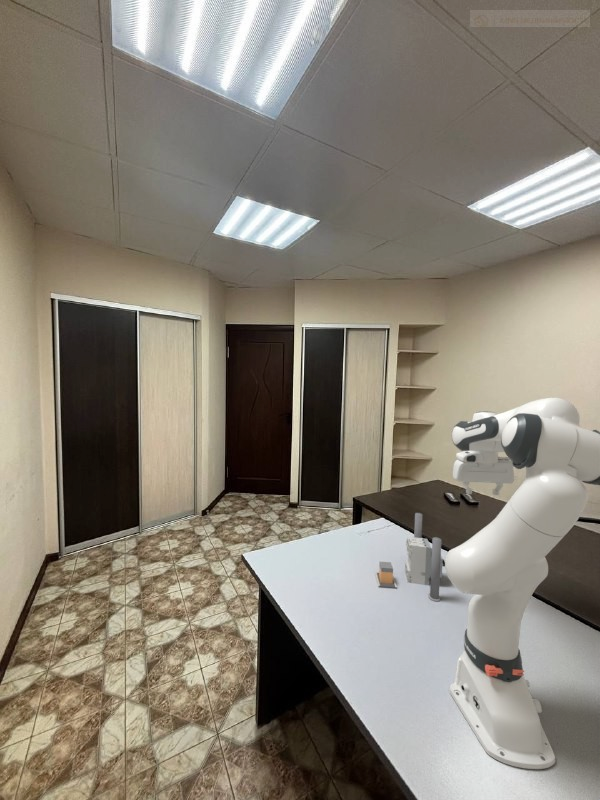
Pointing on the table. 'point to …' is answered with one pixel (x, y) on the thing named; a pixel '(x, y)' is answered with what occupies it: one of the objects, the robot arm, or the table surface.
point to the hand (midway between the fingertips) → (482, 494)
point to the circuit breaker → (419, 561)
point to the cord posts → (435, 559)
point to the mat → (385, 585)
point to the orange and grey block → (386, 572)
